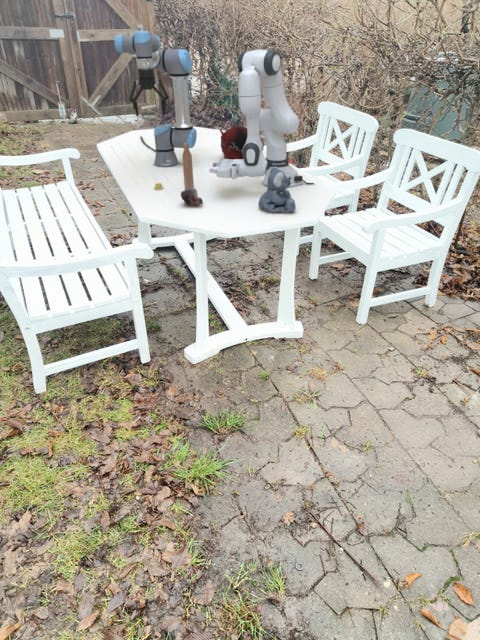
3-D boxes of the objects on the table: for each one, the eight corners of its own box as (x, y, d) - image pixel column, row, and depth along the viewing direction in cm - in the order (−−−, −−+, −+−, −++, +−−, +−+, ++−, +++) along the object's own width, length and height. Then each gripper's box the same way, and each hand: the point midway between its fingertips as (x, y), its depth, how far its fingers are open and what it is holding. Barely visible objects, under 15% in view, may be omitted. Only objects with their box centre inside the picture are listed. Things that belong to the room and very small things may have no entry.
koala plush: (296, 213, 220) (299, 173, 208) (260, 215, 219) (260, 174, 207) (290, 201, 234) (292, 163, 223) (256, 202, 233) (256, 164, 222)
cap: (155, 187, 255) (155, 183, 253) (162, 187, 255) (161, 182, 254) (155, 189, 252) (155, 185, 250) (162, 189, 252) (161, 185, 251)
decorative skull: (217, 132, 306) (217, 129, 282) (251, 124, 305) (253, 121, 281) (224, 164, 313) (224, 164, 289) (257, 157, 312) (260, 156, 288)
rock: (196, 202, 238) (178, 205, 233) (194, 185, 234) (176, 188, 230) (205, 205, 228) (187, 208, 224) (203, 188, 224) (185, 191, 220)
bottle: (193, 190, 250) (190, 142, 235) (194, 193, 245) (191, 144, 231) (184, 191, 249) (181, 142, 234) (185, 194, 245) (181, 145, 230)
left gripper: (120, 70, 213) (127, 118, 225) (172, 67, 220) (176, 114, 232) (118, 68, 219) (125, 115, 231) (168, 66, 226) (172, 112, 238)
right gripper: (239, 156, 243) (214, 155, 245) (233, 167, 227) (207, 167, 228) (239, 167, 247) (215, 167, 248) (234, 180, 230) (207, 179, 232)
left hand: (150, 115), depth 232 cm, fingers open, 13 cm apart
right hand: (211, 167), depth 238 cm, fingers open, 8 cm apart
